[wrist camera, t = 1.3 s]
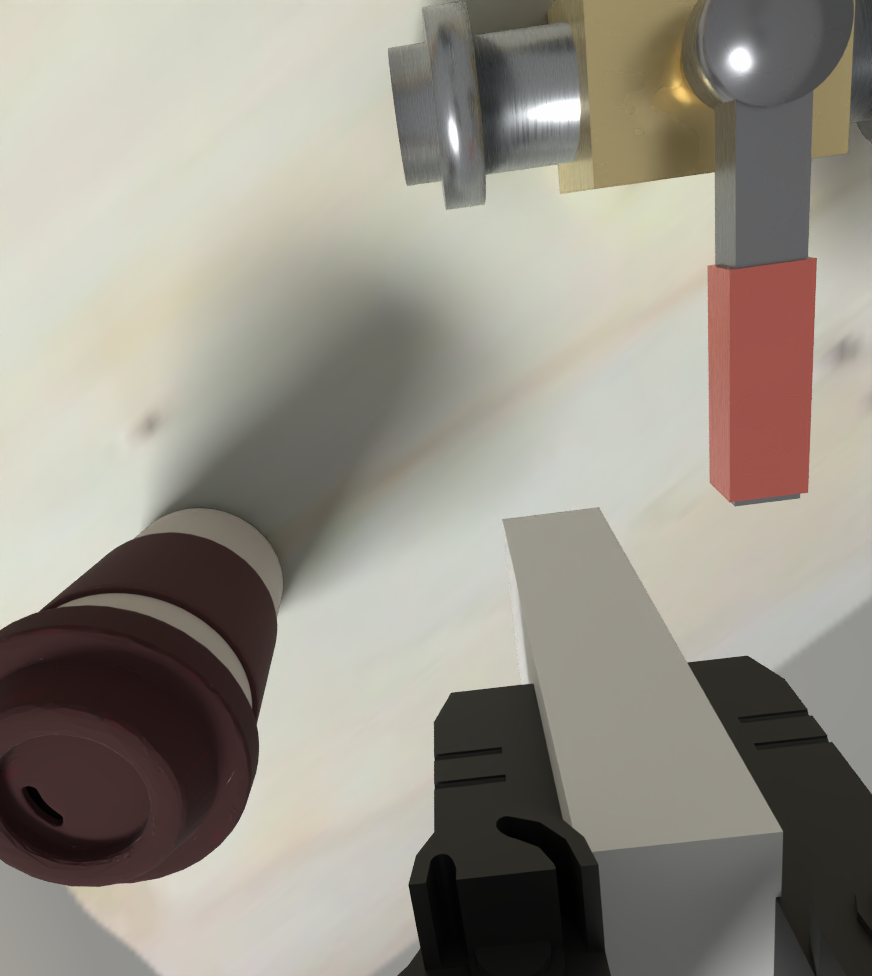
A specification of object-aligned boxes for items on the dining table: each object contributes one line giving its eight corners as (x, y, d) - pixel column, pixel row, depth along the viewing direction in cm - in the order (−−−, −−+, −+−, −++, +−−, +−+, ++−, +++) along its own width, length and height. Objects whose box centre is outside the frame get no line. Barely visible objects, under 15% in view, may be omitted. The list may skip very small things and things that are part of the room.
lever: (679, -22, 20) (707, -49, 18) (814, -43, 20) (858, -72, 18) (689, 488, 26) (712, 513, 23) (798, 475, 25) (830, 498, 23)
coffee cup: (313, 483, 35) (232, 667, 21) (312, 668, 38) (242, 934, 24) (95, 471, 35) (-137, 650, 20) (114, 658, 38) (-74, 922, 24)
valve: (413, 214, 31) (406, 215, 23) (389, 36, 29) (372, -33, 21) (913, 143, 30) (1089, 119, 22) (927, -45, 28) (1128, -150, 20)
